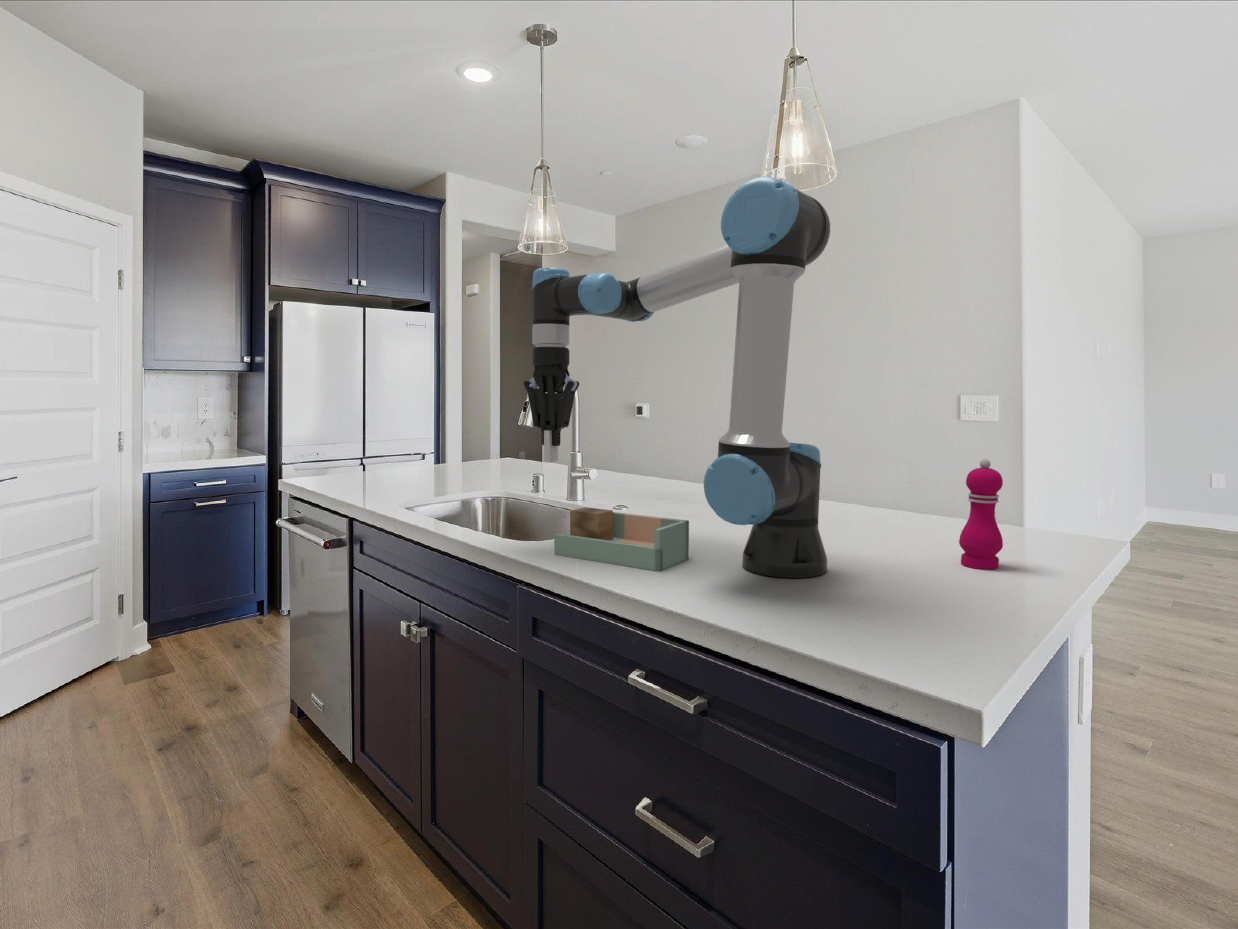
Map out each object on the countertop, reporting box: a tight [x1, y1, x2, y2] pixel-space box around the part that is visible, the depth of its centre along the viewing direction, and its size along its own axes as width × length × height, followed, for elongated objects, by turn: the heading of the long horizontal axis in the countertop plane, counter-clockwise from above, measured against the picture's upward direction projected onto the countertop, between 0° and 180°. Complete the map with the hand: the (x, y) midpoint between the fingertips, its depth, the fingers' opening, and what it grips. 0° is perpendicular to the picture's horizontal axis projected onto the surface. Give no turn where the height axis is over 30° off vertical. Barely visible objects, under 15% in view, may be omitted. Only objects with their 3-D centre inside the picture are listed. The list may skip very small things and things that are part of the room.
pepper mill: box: [958, 458, 1004, 571], centre depth 127 cm, size 7×7×20 cm
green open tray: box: [553, 511, 690, 572], centre depth 134 cm, size 24×12×8 cm, turn 57°
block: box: [569, 506, 614, 541], centre depth 137 cm, size 7×5×6 cm
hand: (551, 461), depth 142 cm, fingers closed
